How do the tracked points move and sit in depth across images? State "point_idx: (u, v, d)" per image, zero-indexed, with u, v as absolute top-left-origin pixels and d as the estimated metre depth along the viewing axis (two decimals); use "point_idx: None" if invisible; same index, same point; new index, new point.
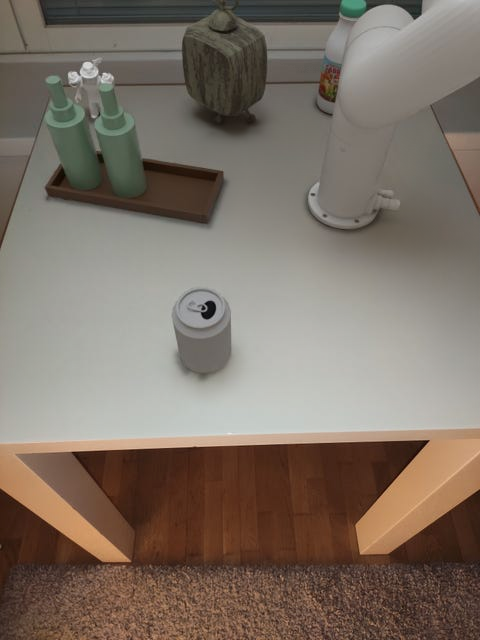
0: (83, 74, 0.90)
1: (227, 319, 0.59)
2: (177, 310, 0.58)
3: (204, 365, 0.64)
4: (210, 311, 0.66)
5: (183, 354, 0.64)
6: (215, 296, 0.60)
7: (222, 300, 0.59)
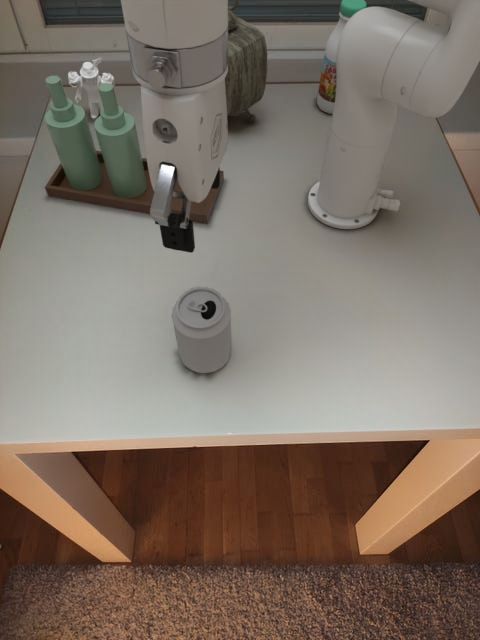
0: (83, 74, 0.90)
1: (227, 319, 0.59)
2: (177, 310, 0.58)
3: (204, 365, 0.64)
4: (210, 311, 0.66)
5: (183, 354, 0.64)
6: (215, 296, 0.60)
7: (222, 300, 0.59)
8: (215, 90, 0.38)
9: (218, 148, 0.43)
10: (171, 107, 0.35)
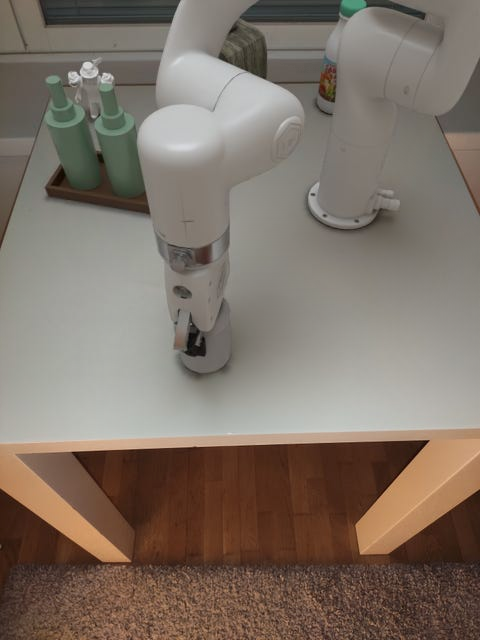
0: (83, 74, 0.90)
1: (227, 319, 0.59)
2: None
3: (204, 365, 0.64)
4: None
5: (183, 354, 0.64)
6: None
7: (222, 300, 0.59)
8: None
9: (222, 285, 0.55)
10: (187, 280, 0.47)
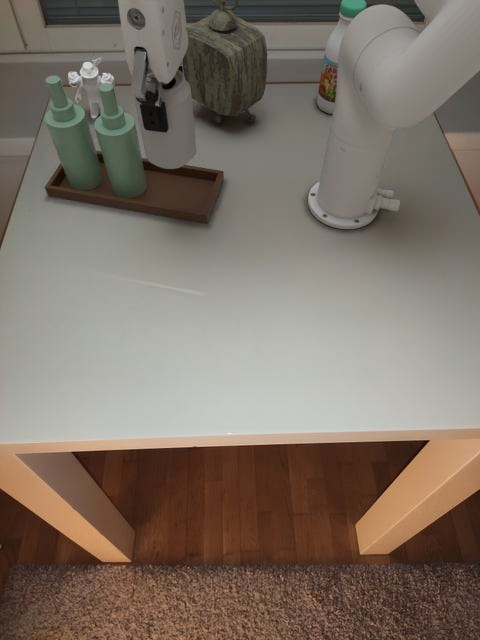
0: (83, 74, 0.90)
1: (187, 92, 0.61)
2: None
3: (168, 153, 0.66)
4: None
5: (147, 143, 0.65)
6: None
7: (181, 74, 0.61)
8: None
9: (179, 43, 0.57)
10: None
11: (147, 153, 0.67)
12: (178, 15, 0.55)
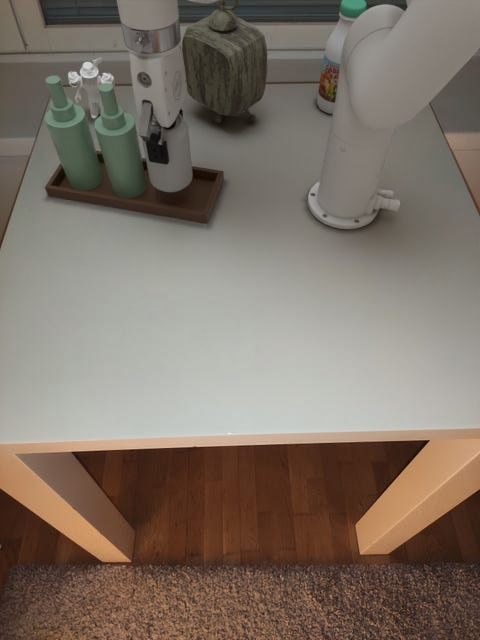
0: (83, 74, 0.90)
1: (185, 132, 0.74)
2: None
3: (168, 180, 0.78)
4: None
5: (151, 171, 0.78)
6: None
7: (181, 117, 0.74)
8: (174, 56, 0.64)
9: (179, 94, 0.69)
10: (147, 64, 0.61)
11: (151, 179, 0.80)
12: (178, 73, 0.67)
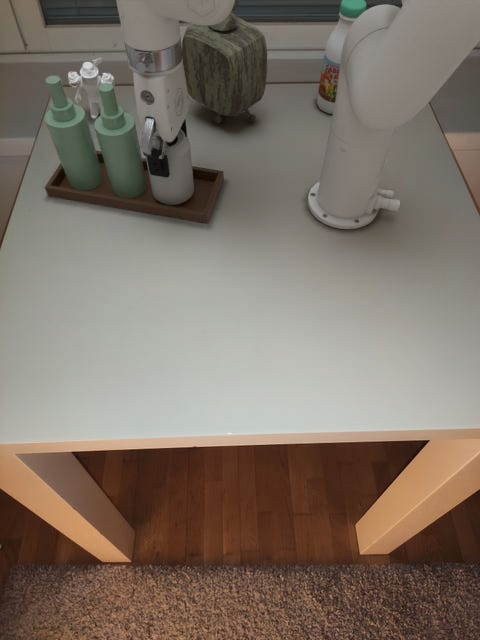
0: (83, 74, 0.90)
1: (187, 148, 0.76)
2: None
3: (170, 194, 0.81)
4: None
5: (154, 185, 0.81)
6: (178, 132, 0.77)
7: (183, 133, 0.76)
8: (176, 73, 0.67)
9: (181, 109, 0.72)
10: (150, 83, 0.63)
11: (154, 192, 0.83)
12: (180, 90, 0.69)
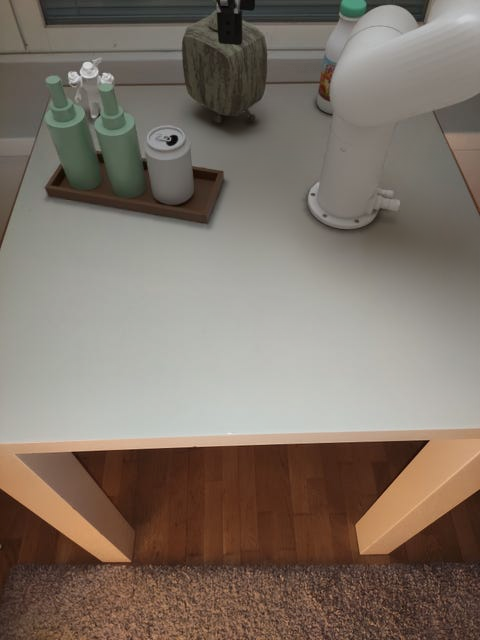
0: (83, 74, 0.90)
1: (187, 148, 0.76)
2: (147, 139, 0.75)
3: (170, 194, 0.81)
4: None
5: (154, 185, 0.81)
6: (178, 132, 0.77)
7: (183, 133, 0.76)
8: None
9: None
10: None
11: (154, 192, 0.83)
12: None
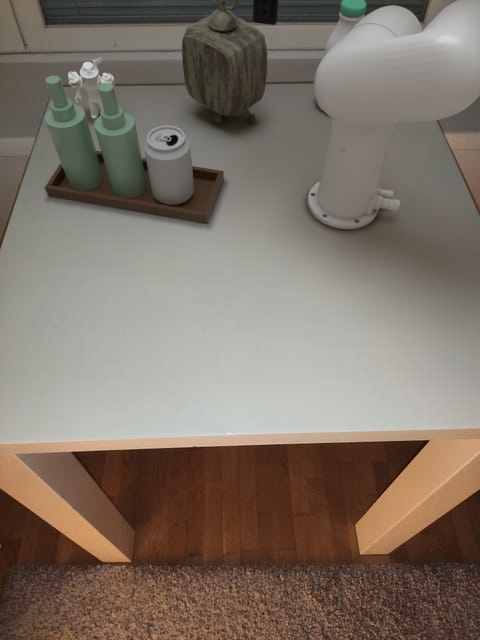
0: (83, 74, 0.90)
1: (187, 148, 0.76)
2: (147, 139, 0.75)
3: (170, 194, 0.81)
4: None
5: (154, 185, 0.81)
6: (178, 132, 0.77)
7: (183, 133, 0.76)
8: None
9: None
10: None
11: (154, 192, 0.83)
12: None
